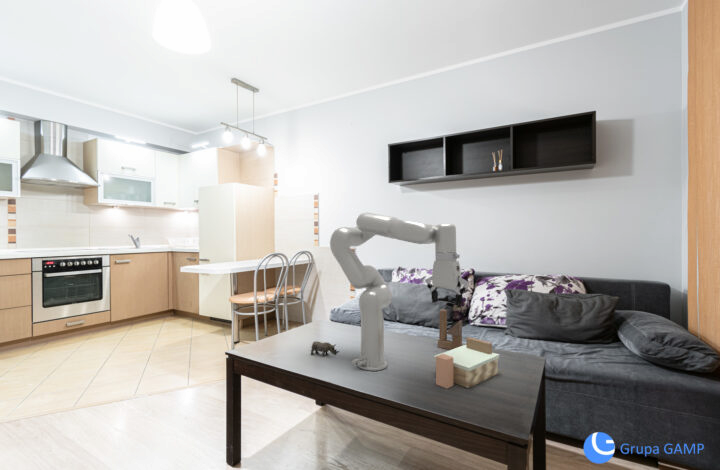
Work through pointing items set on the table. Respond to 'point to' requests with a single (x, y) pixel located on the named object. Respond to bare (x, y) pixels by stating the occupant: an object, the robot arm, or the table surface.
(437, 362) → the salmon rectangular block
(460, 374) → the tan wooden low box
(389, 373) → the table surface
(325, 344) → the rhino figurine
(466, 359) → the lid
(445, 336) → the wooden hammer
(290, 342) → the table surface
